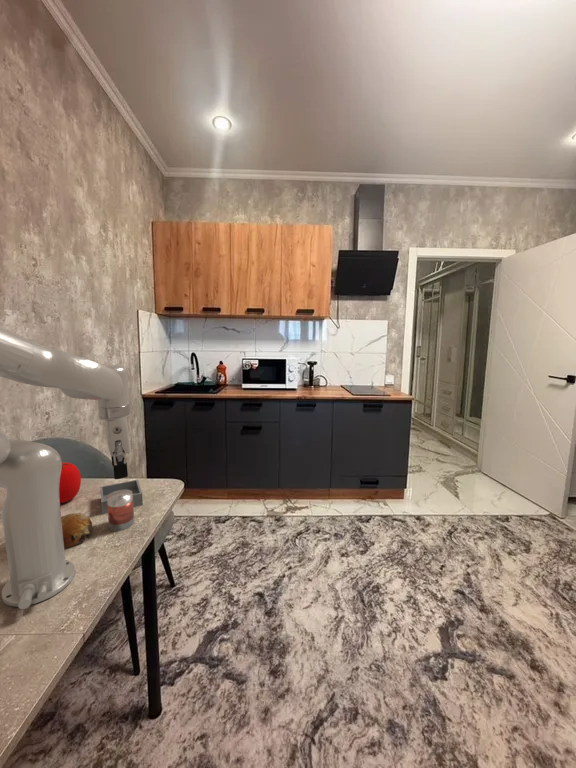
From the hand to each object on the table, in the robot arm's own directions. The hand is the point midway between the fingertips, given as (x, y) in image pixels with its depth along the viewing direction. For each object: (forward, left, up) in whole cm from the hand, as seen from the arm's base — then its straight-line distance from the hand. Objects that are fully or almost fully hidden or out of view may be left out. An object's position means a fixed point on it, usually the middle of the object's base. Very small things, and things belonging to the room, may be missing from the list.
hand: (119, 470), depth 91 cm
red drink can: (0, 0, -16) cm, 16 cm away
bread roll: (-1, +12, -16) cm, 20 cm away
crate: (+14, -1, -16) cm, 21 cm away
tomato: (+24, +16, -16) cm, 33 cm away
